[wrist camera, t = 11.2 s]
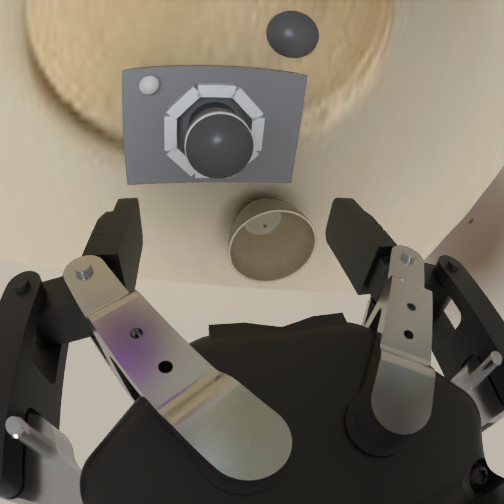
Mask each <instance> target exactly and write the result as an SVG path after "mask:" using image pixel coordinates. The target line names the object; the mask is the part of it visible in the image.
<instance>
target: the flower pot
mask: <svg viewBox="0 0 504 504" xmlns="http://www.w3.org/2000/svg"><path fill="white" fill-rule="evenodd" d="M265 225H266V226H265ZM316 244H317V235H316V231H315V229H314V227H313V225H312V224H311V222H310V221H309V220H308V219H307V218H306V217H305V216H304V215H303V214H302V213H301V212H300V211H298V210H297V209H296V208H294V207H293V206H291V205H289V204H287V203H285V202H282V201H279V200H276V199H270V198H263V199H258V200H255V201H253V202H251V203H249V204H248V205H246V206H245V207H244V208H243V209H242V210H241V212H240V213H239V214H238V216H237V217H236V219H235V221H234V223H233V226H232V228H231V232H230V236H229V242H228V257H229V261H230V264H231V266H232V267H233V269H234V270H235V271H236V272H237V273H238V274H239V275H240V276H242V277H244V278H246V279H248V280H250V281H254V282H260V283H269V282H276V281H280V280H283V279H286V278H288V277H290V276H292V275H294V274H296V273H297V272H299V271H300V270H301V269H302V268H303V267H304V266H305V265H306V264H307V263H308V262H309V261H310V259H311V258H312V256H313V254H314V252H315V249H316Z"/></svg>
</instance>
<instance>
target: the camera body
mask: <svg viewBox="0 0 504 504" xmlns="http://www.w3.org/2000/svg"><path fill="white" fill-rule="evenodd" d="M306 82H307V75H303V74H299V73H294V72H288V71H281V70H272V69H263V68H252V67H238V66H216V65H176V66H154V67H141V68H133V69H127V70H122V108H123V134H124V151H125V164H126V175H127V185H136V184H156V183H185V182H271V183H291V179H292V173H293V167H294V161H295V154H296V148H297V142H298V135H299V129H300V123H301V116H302V109H303V103H304V96H305V89H306ZM208 102H221V103H224V104H226V105H228V106H230V107H231V108H232V109H233V110H234V111H235V112H236V114H237V115H238V116H239V117H240V118H241V119H242V120H243V121H244V122H245V123H246V124H247V126H248V127H249V129H250V130H251V133H252V136H253V141H254V146H253V153H252V156H251V159H250V161H249V162H248V164H247V165H246V166H245V167H244V168H243V169H242V170H241V171H240V172H239V173H237V174H235V175H233V176H231V177H227V178H222V179H214V178H209V177H206V176H203V175H201V174H200V173H198V172H197V171H196V170H195V169H194V168H193V167H192V166H191V164H190V163H189V161H188V160H187V157H186V154H185V148H184V144H185V137H186V134H187V130H188V122H189V119H190V116H191V115H192V113H193V112H194V111H195V110H196V109H197V108H198V107H199V106H201V105H203V104H205V103H208Z"/></svg>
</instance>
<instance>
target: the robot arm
mask: <svg viewBox="0 0 504 504" xmlns="http://www.w3.org/2000/svg"><path fill="white" fill-rule="evenodd" d="M326 240H327V243H328V245H329V246H330V248H331V250H332V251H333V253H334V254H335V256H336V258H337V259H338V261H339V263H340V264H341V266H342V268H343V270H344V271H345V273H346V275H347V276H348V278H349V280H350V281H351V283H352V285H353V287H354V288H355V290H356V292H357V294H358V295H363V294H371V297H370V299H369V301H368V304H367V308H366V312H365V315H364V319H363V322H362V325H358V324H354V323H347V321H346V319H345V318H344V315H343V313H337V314H329V315H320V316H313V317H310V318H307V319H305V320H302V321H299V322H296V323H293V324H290V325H287V326H284V327H276V326H267V325H259V324H250V323H234V324H217V325H209V336H206V337H202V338H200V339H197V340H195V341H193V342H191V343H189V344H188V343H187V342H186V341H185V340H184V339H183V338H182V337H181V336H180V335H179V334H178V333H177V332H176V331H175V330H174V329H173V328H172V327H171V326H170V325H169V324H168V323H167V322H166V321H165V319H164V318H163V317H162V316H161V315H160V314H159V313H158V312H157V311H156V310H155V309H154V308H153V307H152V306H151V305H150V304H149V302H148V301H147V300H146V299H145V298H144V297H143V296H142V295H141V294H140V293H139V292H138V291H136V290H135V285H136V279H137V273H138V267H139V262H140V256H141V251H142V245H143V235H142V226H141V219H140V210H139V202H138V199H137V198H125V199H118V201H117V203H116V206H115V208H114V210H113V212H106V213H105V214H103V215H102V216H101V217H100V218H99V219H98V221H97V223H96V225H95V227H94V229H93V231H92V234H91V236H90V238H89V240H88V243H87V245H86V247H85V250H84V252H83V255H82V256H81V257H79V258H76V259H74V260H73V261H71V262H70V263H69V264H68V265H67V266H66V268H65V270H64V273H63V276H62V277H59V278H56V279H52V280H48V281H45V282H42V280H41V278H40V276H39V275H38V273H36V272H33V271H26V272H23V273H20V274H18V275H16V276H15V277H14V278H13V279H11V281H10V282H9V283H8V285H7V287H6V289H5V291H4V293H3V295H2V298H1V300H0V498H3V499H5V500H8V501H11V502H15V503H18V504H504V478H502V477H500V476H498V475H496V474H495V473H493V472H492V471H491V470H490V469H489V467H488V466H487V463H486V460H485V457H484V452H483V444H482V434H481V433H482V431H484V430H486V429H487V428H489V427H490V426H492V425H493V424H494V423H496V422H497V421H499V420H500V419H501V418H503V417H504V321H503V320H502V318H501V317H500V315H499V314H498V312H497V311H496V309H495V308H494V306H493V305H492V304H491V302H490V301H489V299H488V298H487V297H486V295H485V294H484V293H483V291H482V290H481V288H480V287H479V286H478V284H477V283H476V282H475V280H474V279H473V278H472V277H471V275H470V274H469V273H468V272H467V270H466V269H465V268H464V267H463V265H462V264H461V263H460V262H458V261H457V260H456V259H454V258H452V257H450V256H446V255H442V256H440V257H439V259H438V261H437V263H436V265H432V264H427V263H424V260H423V258H422V257H421V256H420V254H419V253H417V252H416V251H415V250H413V249H411V248H409V247H406V246H402V245H397V244H396V243H395V242H394V241H393V240H392V238H391V237H390V236H389V235H388V234H387V233H386V231H385V230H383V228H382V227H381V226H380V225H379V224H378V222H377V221H376V220H375V219H374V218H373V217H372V216H371V215H370V214H368V213H367V212H365V211H364V210H363V209H362V208H361V207H360V206H359V205H358V204H357V202H356V201H355V200H354V199H352V198H335V199H334V201H333V204H332V207H331V211H330V215H329V219H328V223H327V227H326ZM451 299H452V300H453V301H454V303H455V304H456V306H457V307H458V309H459V311H460V313H461V322H460V324H459V326H458V327H457V328H456V330H455V329H454V327H453V325H452V324H451V322H450V320H449V319H448V317H447V315H446V314H445V312H444V309H445V308H446V306H447V305H448V303H449V302H450V300H451ZM87 337H90V338H91V340H92V341H93V342H94V344H95V346H96V347H97V349H98V351H99V352H100V353H101V355H102V357H103V358H104V360H105V361H106V363H107V364H108V366H109V367H110V368H111V370H112V371H113V373H114V374H115V376H116V377H117V379H118V380H119V382H120V383H121V385H122V386H123V388H124V389H125V391H126V392H127V394H128V395H129V396H130V397H131V399H132V400H133V401H134V404H133V405H132V406H131V407H130V408H129V410H128V411H127V412H126V413H125V415H123V417H122V418H121V419H120V420H119V421H118V423H117V424H116V425H115V426H114V427H113V429H112V430H111V431H110V432H109V433H108V435H107V436H106V437H105V438H104V440H103V441H102V442H101V443H100V444H99V446H98V447H97V448H96V449H95V450H94V451H93V453H92V454H91V455H90V456H89V457H88V459H87V460H86V462H85V464H84V466H83V468H82V470H81V469H80V468H79V466H78V465H77V463H76V461H75V459H74V453H73V448H72V445H71V443H70V441H69V439H68V438H67V437H66V436H65V435H64V434H63V433H61V431H59V423H60V409H61V408H60V407H61V397H62V387H63V379H64V370H65V364H66V363H65V362H66V357H67V351H68V345H69V342H72V341H76V340H79V339H82V338H87ZM431 350H432V352H433V354H434V355H435V357H436V359H437V361H438V363H439V365H440V367H441V369H442V372H443V374H444V376H445V377H443V376H442V375H441V374H439V373H437V372H436V371H435V370H434V368H432V367H431V364H430V363H431Z"/></svg>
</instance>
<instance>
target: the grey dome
mask: <svg viewBox="0 0 504 504" xmlns="http://www.w3.org/2000/svg"><path fill="white" fill-rule="evenodd" d="M267 39H268V41H269V43H270V45H271V46H272V48H273V49H274V50H275V51H276V52H278V53H279V54H281V55H284V56H287V57H294V58H295V57H302V56H305V55H307V54H309V53H310V52H312V51H313V50H314V48H315V47H316V45H317V43H318V39H319V33H318V29H317V26H316V25H315V23H314V22H313V20H312V19H311V18H309V17H308V16H307V15H305V14H303V13H300V12H297V11H286V12H282V13H280V14H278V15H276V16H275V17H273V18H272V20H271V21H270V22H269V24H268V27H267Z"/></svg>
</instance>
